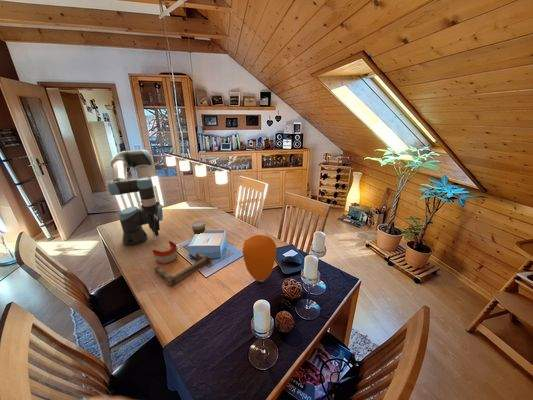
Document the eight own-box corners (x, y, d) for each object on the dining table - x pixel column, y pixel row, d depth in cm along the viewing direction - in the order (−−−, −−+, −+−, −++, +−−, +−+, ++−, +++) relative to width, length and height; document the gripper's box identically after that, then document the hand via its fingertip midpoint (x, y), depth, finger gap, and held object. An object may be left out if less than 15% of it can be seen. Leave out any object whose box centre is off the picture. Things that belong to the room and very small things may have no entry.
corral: (153, 274, 124) (152, 268, 123) (193, 252, 144) (192, 247, 142) (170, 287, 115) (169, 281, 113) (210, 262, 134) (210, 256, 132)
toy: (165, 267, 130) (162, 256, 127) (154, 261, 135) (151, 250, 132) (183, 256, 140) (181, 245, 137) (172, 251, 145) (170, 240, 142)
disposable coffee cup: (203, 243, 154) (201, 227, 149) (190, 241, 155) (188, 226, 151) (209, 236, 162) (207, 221, 158) (197, 234, 164) (195, 220, 160)
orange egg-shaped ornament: (246, 268, 128) (244, 230, 119) (276, 269, 127) (276, 230, 118) (242, 291, 112) (239, 248, 103) (276, 291, 111) (276, 248, 102)
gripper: (137, 204, 132) (145, 239, 141) (148, 208, 125) (156, 245, 133) (150, 200, 138) (157, 234, 146) (161, 204, 130) (168, 240, 139)
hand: (157, 239), depth 140 cm, fingers closed
